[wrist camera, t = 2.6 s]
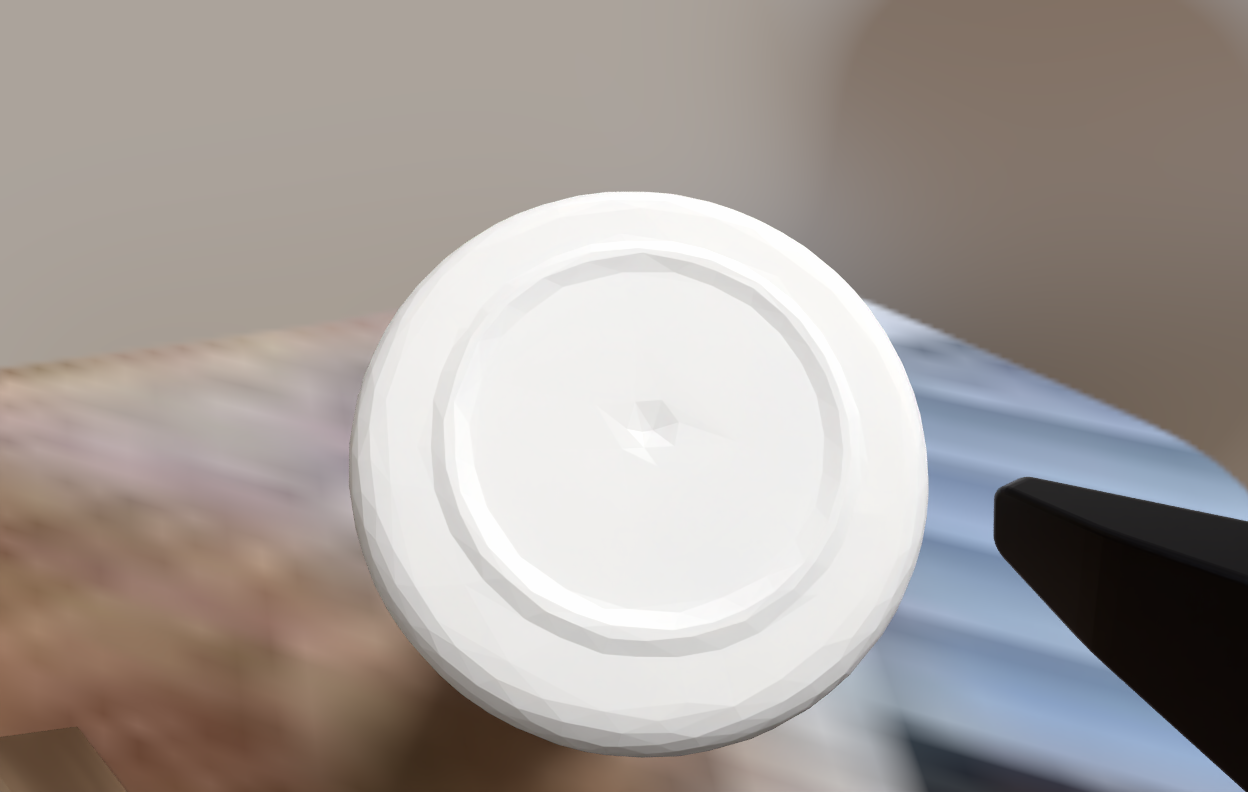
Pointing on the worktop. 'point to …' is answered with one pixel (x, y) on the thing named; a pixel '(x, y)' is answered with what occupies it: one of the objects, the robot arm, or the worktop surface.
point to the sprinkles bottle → (638, 474)
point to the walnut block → (53, 764)
